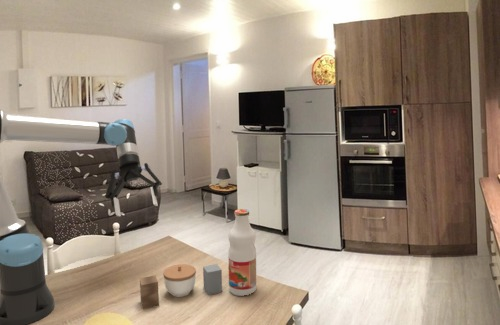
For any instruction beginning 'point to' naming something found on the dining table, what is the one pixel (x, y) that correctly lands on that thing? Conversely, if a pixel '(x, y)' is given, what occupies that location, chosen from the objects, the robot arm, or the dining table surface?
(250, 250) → the fruit juice
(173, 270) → the lidded jar
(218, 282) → the grey block
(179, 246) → the dining table surface
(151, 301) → the walnut block
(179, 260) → the dining table surface
